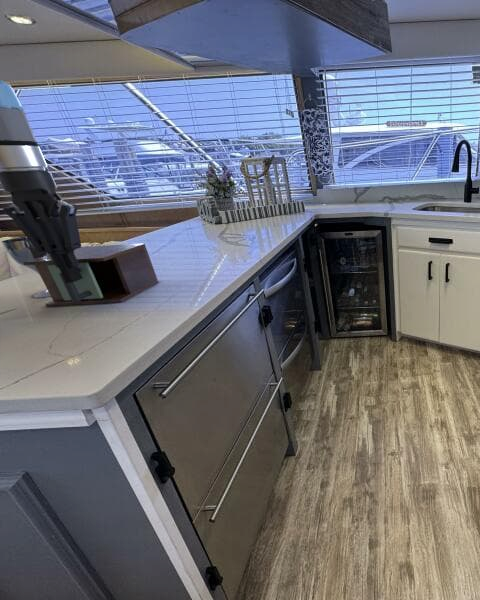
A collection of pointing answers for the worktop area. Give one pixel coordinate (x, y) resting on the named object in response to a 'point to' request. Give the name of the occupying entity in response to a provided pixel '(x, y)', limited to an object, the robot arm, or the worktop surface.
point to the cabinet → (105, 272)
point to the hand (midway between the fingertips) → (74, 280)
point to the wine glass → (24, 255)
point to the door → (77, 284)
